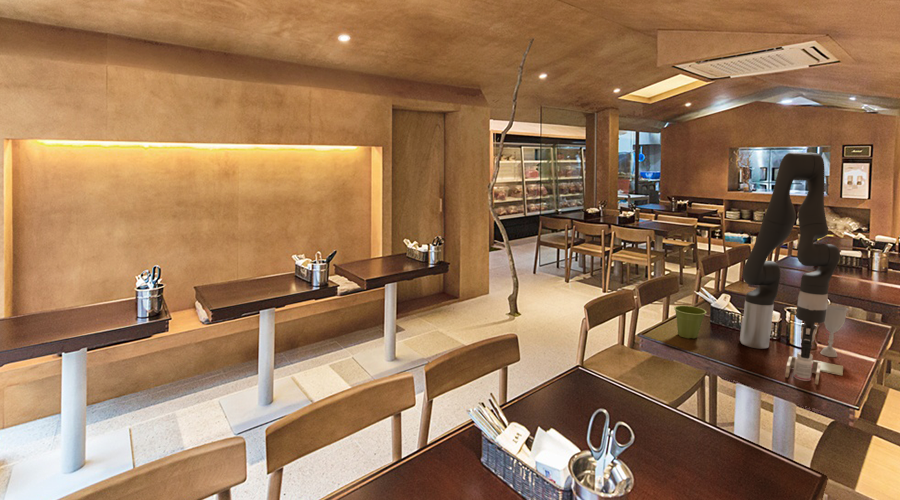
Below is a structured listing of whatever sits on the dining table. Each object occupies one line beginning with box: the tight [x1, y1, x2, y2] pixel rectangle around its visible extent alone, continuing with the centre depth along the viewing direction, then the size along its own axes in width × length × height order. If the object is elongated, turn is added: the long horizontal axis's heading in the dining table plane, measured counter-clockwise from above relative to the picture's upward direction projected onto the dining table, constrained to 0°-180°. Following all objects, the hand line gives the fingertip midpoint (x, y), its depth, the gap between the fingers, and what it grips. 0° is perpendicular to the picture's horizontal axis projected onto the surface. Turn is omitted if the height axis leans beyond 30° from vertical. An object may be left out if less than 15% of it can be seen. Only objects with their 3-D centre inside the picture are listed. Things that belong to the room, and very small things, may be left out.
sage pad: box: [813, 359, 844, 377], centre depth 160 cm, size 8×8×1 cm
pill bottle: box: [792, 351, 814, 382], centre depth 153 cm, size 5×5×8 cm
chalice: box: [819, 304, 850, 358], centre depth 170 cm, size 7×7×18 cm
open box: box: [784, 355, 822, 385], centre depth 155 cm, size 10×9×4 cm
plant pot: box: [673, 305, 707, 339], centre depth 191 cm, size 12×12×11 cm
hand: (805, 353), depth 152 cm, fingers open, 8 cm apart
